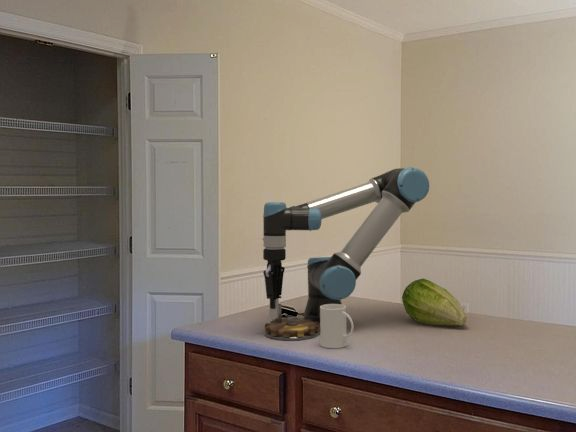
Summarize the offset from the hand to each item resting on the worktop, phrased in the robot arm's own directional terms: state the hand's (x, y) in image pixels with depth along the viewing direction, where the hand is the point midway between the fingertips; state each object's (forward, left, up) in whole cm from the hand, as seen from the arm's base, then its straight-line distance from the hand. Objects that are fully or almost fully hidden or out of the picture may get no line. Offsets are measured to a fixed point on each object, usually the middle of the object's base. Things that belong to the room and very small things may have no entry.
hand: (274, 317), depth 198 cm
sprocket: (-6, +3, -4) cm, 7 cm away
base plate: (-6, +3, -5) cm, 8 cm away
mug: (-17, +21, -5) cm, 27 cm away
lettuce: (-57, +2, -5) cm, 57 cm away
